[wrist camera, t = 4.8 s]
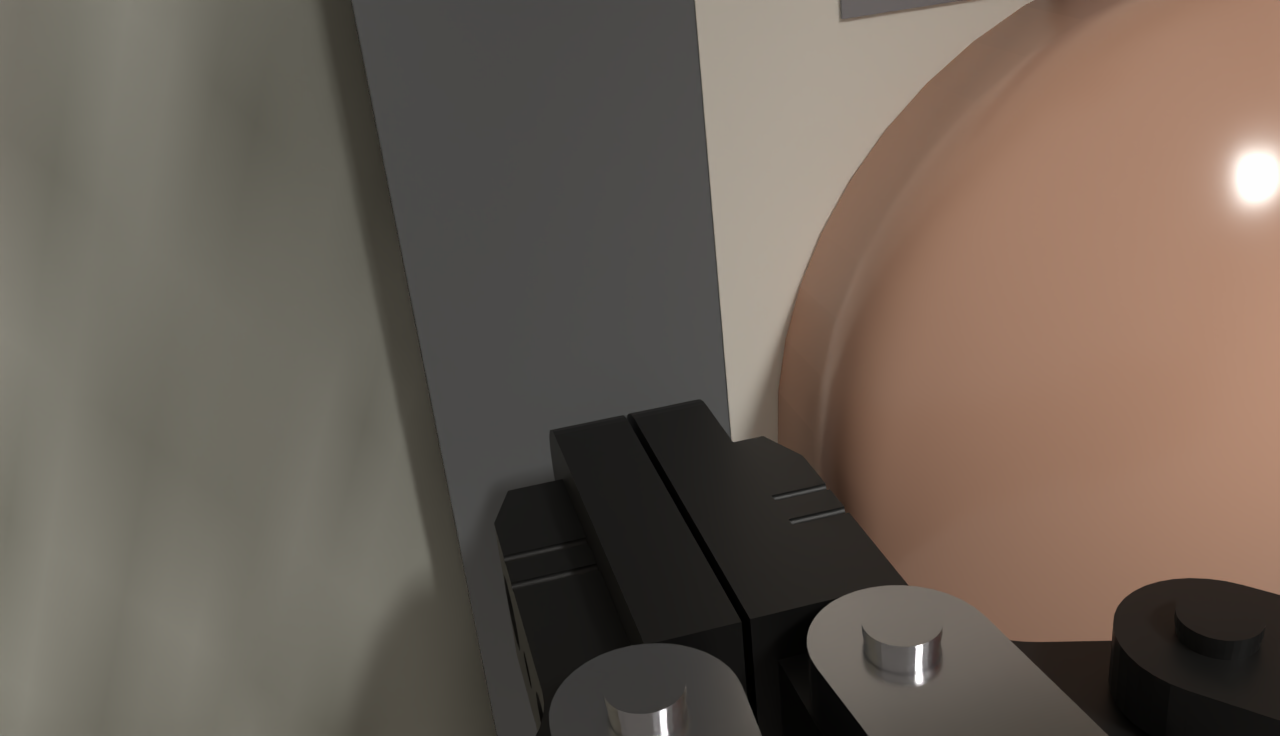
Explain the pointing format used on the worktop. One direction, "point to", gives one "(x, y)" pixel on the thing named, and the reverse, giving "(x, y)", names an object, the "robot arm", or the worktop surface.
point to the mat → (618, 214)
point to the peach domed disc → (1060, 316)
